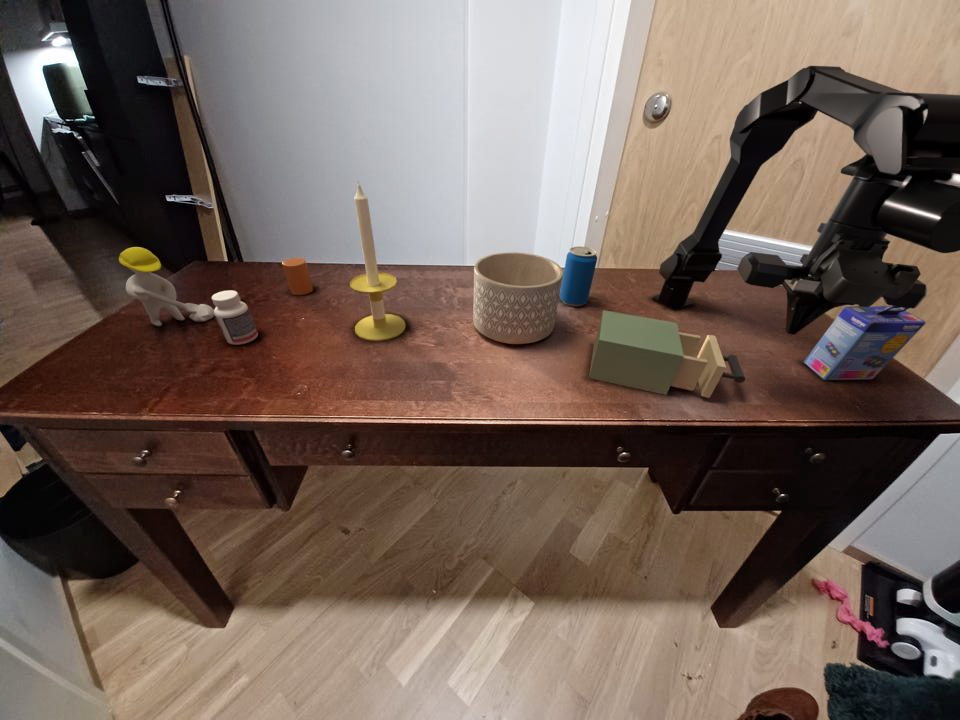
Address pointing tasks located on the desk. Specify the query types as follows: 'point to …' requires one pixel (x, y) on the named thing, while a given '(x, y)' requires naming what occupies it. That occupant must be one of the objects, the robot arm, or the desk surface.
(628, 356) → the cabinet
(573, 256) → the beverage can
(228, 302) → the pill bottle
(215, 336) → the desk surface
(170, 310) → the figurine
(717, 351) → the drawer
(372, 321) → the candle
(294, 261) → the orange cylinder
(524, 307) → the planter
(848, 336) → the ink cartridge box
